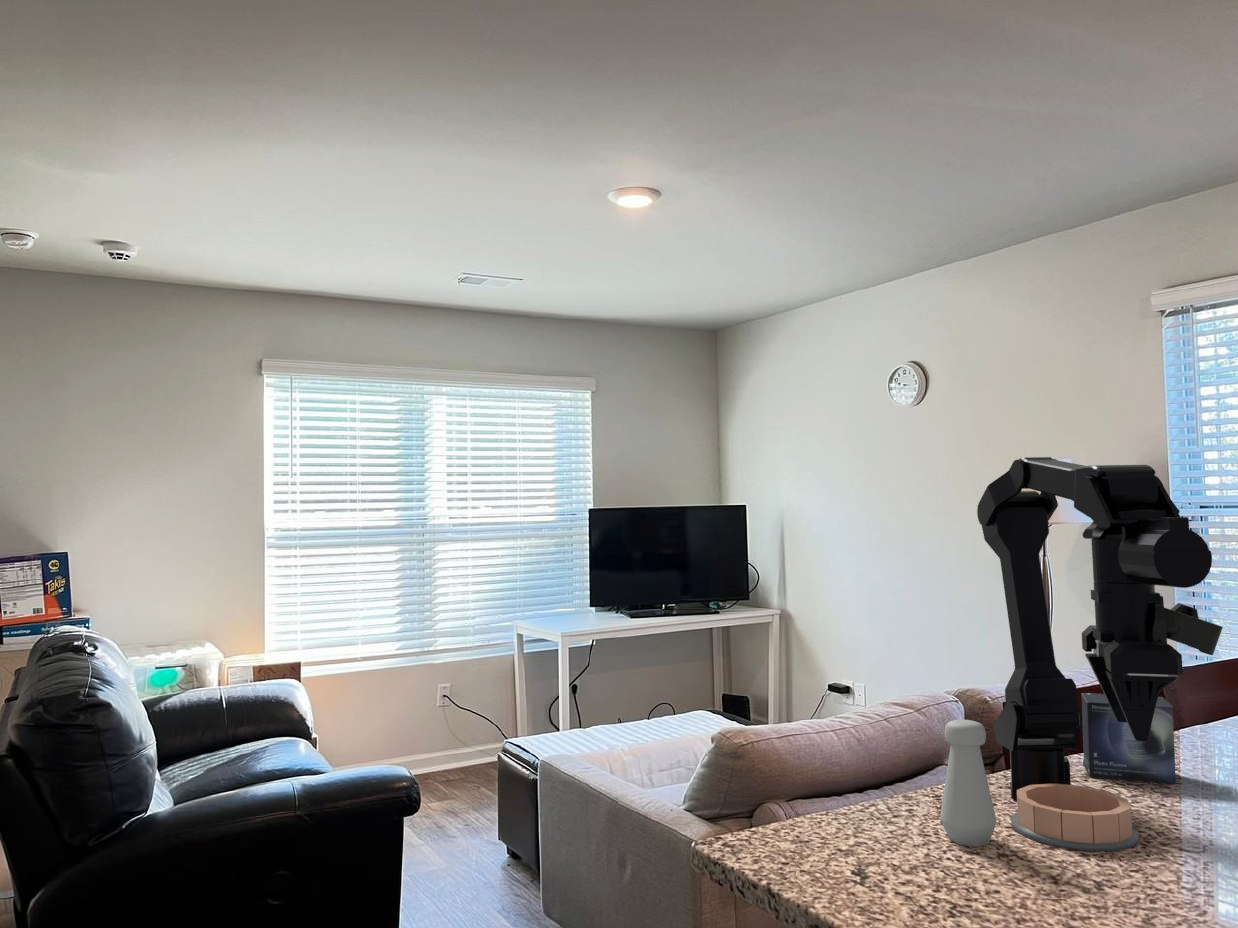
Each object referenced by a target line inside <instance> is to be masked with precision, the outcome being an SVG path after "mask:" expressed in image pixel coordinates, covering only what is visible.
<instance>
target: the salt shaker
mask: <svg viewBox="0 0 1238 928" xmlns="http://www.w3.org/2000/svg"><path fill="white" fill-rule="evenodd" d="M986 736H987V732H986V728H985V726H984V725H983V724H982V723H980V722H978V721H976V720H970V719H954V720H950V721H948V722H947V723H946V724H945V726H944V739H945V740H946V742H947V743H949V744H950V747H949V752H948V753H949V755H948V760H947V761H948V763H947V769H946V773H945V774H946V775H945V782H944V788H943V795H942V802H941V809H940V816H939V817H940V821H941V824H942V825H943V828H944V830H945V833H946V835H947V837H948V839H949V840H950V841H952V842H954V843H956V844H957V845H960V846H967V847H974V848H977V847H982V846H987V845H989V844H990V841H991V839H992V836H993V834H994V830H995V828H996V825H997V816H996V811H995V808H994V803H993V800H992V795H991V790H990V787H989V786H990V785H989V781H988V778H987V774H986V770H985V765H984V761H983V756H982V751H981V746H984V744H985V743H986V739H987V737H986Z"/></svg>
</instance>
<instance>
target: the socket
mask: <svg viewBox="0 0 1238 928" xmlns="http://www.w3.org/2000/svg"><path fill="white" fill-rule="evenodd" d="M1016 804H1017V805H1016V807H1017V808H1016V809H1017V812H1015V813H1014V814H1012V816H1011V818H1010V822H1011V824H1010V825H1011V828H1012V829H1013V830H1014V831H1015V833H1018V834H1019V835H1020V836H1023V837H1025V838H1026V839H1029V840H1032V841H1035V842H1037V843H1040V844H1043V845H1048V846H1052V847H1055V848H1061V849H1068V850H1074V851H1084V852H1085V851H1086V852H1115V851H1116V852H1117V851H1122V850H1127V849H1131V848H1133V847H1135V846H1137V845H1138V844H1139V841H1140V833H1139V831H1138V829H1137V828H1136V827H1134V826H1133V820H1132V819H1133V818H1132V806H1131V804H1130V802H1129V800H1128V799H1127V798H1125V797H1123V796H1120V795H1118V794H1115V793H1113V792H1111V791H1108V790H1103V789H1100V788H1099V789H1098V788H1095V787H1089V786H1084V785H1077V784H1071V785H1066V784H1037V785H1028V786H1026V787H1023V788H1021V789H1018V790H1017V799H1016Z"/></svg>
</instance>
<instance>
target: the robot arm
mask: <svg viewBox="0 0 1238 928" xmlns="http://www.w3.org/2000/svg"><path fill="white" fill-rule="evenodd" d="M1156 473H1157V471H1156V470H1155V469H1154V468H1153V467H1152V466H1150V465H1148V464H1111V465H1110V464H1104V465H1103V464H1102V465H1100V464H1099V465H1098V464H1097V465H1083V464H1078V463H1072V462H1068V461H1061V460H1058V459H1056V458H1052V457H1051V456H1043V457H1042V456H1040V457H1038V456H1034V457H1033V456H1032V457H1031V456H1030V457H1027V456H1026V457H1020V458H1019V459H1015V460H1013V462H1012V463H1011V465H1010V467H1009V469H1008V471H1006V472H1005V473H1003V474H1001V475H1000V476H999V477H998V478H996V479H995V480H994V481H992V482H991V483H989V484H988V485H987V487H986V489H984V492H983V494H982V495H981V497H980V500H979V502H978V504H977V508H976V514H977V515H976V517H977V520H978V523H979V525H980V526H981V530H982V534H983V539H984V541H985V542H986V543H987V545H988V546H989V548H991V550H992V551H993V552H994V553H995V554H996V556H997V557H998V558H999V561H1000V567H1001V574H1002V576H1001V577H1002V582H1003V589H1004V595H1005V604H1006V612H1007V617H1008V625H1009V632H1010V639H1011V641H1010V642H1011V648H1012V655H1013V662H1014V669H1013V672H1012V674H1011V677H1010V678H1009V680H1008V683H1007V684H1006V686H1005V690H1004V695H1005V696H1004V699H1005V704H1004V706H1003V707H1002V710H1001V711H1000V714H999V716H998V717H997V720H996V722H995V723H994V725H993V730H994V734H995V740H996V743H997V744H998V745H1000V746H1002V747H1004V748H1005V749H1007V750H1008V751H1009V758H1010V760H1009V761H1010V783H1009V787H1010V788H1009V789H1010V798H1011V799H1013V800H1017V790H1018V789H1021V788H1023V787H1026V786H1028V785H1037V784H1066V785H1072V784H1071V783H1072V782H1071V765H1070V764H1071V763H1070V760H1069V758H1067V757H1065V750H1075V751H1076V750H1078V747H1079V741H1080V736H1081V730H1082V729H1081V728H1082V724H1083V721H1082V709H1081V707H1080V705H1079V700H1078V694H1077V693H1078V692H1077V685H1076V683H1075V681H1074V679H1072V678H1067V677H1065V675H1064V674H1063V672H1062V671H1061V670H1060V669H1059V668H1058V666H1057V663H1056V656H1055V650H1054V643H1053V637H1052V631H1051V623H1050V617H1049V612H1048V605H1047V597H1046V592H1045V591H1046V590H1045V584H1044V578H1043V571H1042V564H1041V558H1040V553H1041V551H1042V548H1043V546H1044V545H1045V543H1046V540H1047V539H1048V536H1049V534H1050V524H1049V521H1050V520H1051V518H1052V516H1053V515H1054V513H1055V512H1056V510H1057V508H1058V507H1059V502H1058V500H1057V497H1058V498H1059V497H1060V498H1062V499H1063V498H1064V499H1067V500H1071V501H1072V502H1073V508H1074V509H1075V510H1077V511H1078V512H1080V513H1082V514H1083V515H1085V516H1086V517H1088V518H1090V519H1091V520H1092V522H1091V524H1090V525H1089V526H1087V527H1086V528H1085V529H1084V531H1083V532H1082V537H1083V539H1087V540H1089V539H1090V540H1091V554H1092V558H1091V559H1092V574H1093V575H1092V576H1093V577H1092V578H1093V589H1090V599H1091V600H1092V601H1094V613H1095V614H1094V615H1095V616H1094V617H1095V618H1094V619H1095V625H1093V624H1090V625H1089V626H1087V627H1086V628H1085V629H1084V630H1083V631H1081V646H1082V647H1081V648H1082V650H1083V651H1084V652H1085V654H1084V655H1085V657H1086V659H1087V661H1088V663H1089V665H1090V667H1091V669H1092V672H1093V674H1094V675H1095V678H1096V680H1097V682H1098V684H1099V686H1100V688H1101V690H1102V692H1103V694H1105V696H1106V699H1107V701H1108V703H1109V705H1110V707H1111V709H1112V711H1113V713H1114V716H1115V718H1116V720H1117V721H1118V722H1127V723H1128V725H1129V727H1130V730H1131V732H1132V734H1133V736H1134V738H1135V740H1137V741H1147V740H1148V737H1149V733H1150V728H1151V724H1152V720H1153V716H1154V711H1155V707H1156V703H1157V699H1158V697H1160V696H1159V695H1160V692H1161V691H1162V690H1163V689H1165V688H1166V687H1168V686H1169V685H1170V684H1171V683H1174V682H1176V681H1177V680H1178V679H1179V676H1180V675H1181V676H1182V675H1183V674H1184V672H1183V669H1184V668H1183V656H1182V653H1180V652H1179V651H1178V650H1177V649H1175V648H1174V647H1173V645H1171V644H1169V643H1168V640H1171V641H1173V642H1177V643H1180V644H1183V645H1185V646H1187V647H1190V648H1192V649H1196V650H1198V652H1200V653H1203V654H1206V655H1209V656H1214V654H1215V650H1216V648H1217V645H1218V642H1219V639H1220V636H1221V634H1222V631H1223V628H1224V627H1223V626H1222V625H1219V624H1215V623H1213V622H1209V621H1208V620H1204V619H1201V618H1199V612H1198V609H1197V608H1195V607H1192V606H1189V605H1186V604H1183V603H1179V602H1177V604H1175V605H1174V606H1173V607H1171V608H1167V607H1165V606H1164V605H1165V604H1164V603H1165V602H1164V596H1163V595H1161V593H1159V592H1156V587H1155V586H1161V587H1162V586H1163V587H1169V588H1170V587H1171V588H1172V587H1174V588H1181V589H1182V588H1183V589H1186V588H1191V587H1192V588H1193V587H1195V586H1197V585H1198V584H1200V583H1202V582H1203V581H1204V580H1205V579H1206V578H1207V576H1208V574H1209V573H1210V570H1211V567H1212V564H1213V563H1212V562H1213V555H1212V551H1211V550H1210V549H1209V546H1208V544H1207V542H1206V540H1204V538H1203V537H1202V536H1201V535H1200V534H1198V532H1196V531H1193V530H1192V529H1190V522H1189V521H1190V519H1189V517H1188V516H1182V517H1181V516H1180V509H1179V508H1178V507H1177V505H1176V504H1175V503H1174V502H1173V501H1172V498H1171V497H1170V495H1169V493H1168V491H1167V490H1166V488H1165V485H1164V484H1163V482H1162V480H1161V479H1160V478H1159V476H1157V475H1156ZM1023 489H1025V490H1023ZM1027 489H1028V490H1027ZM1039 492H1040V493H1039ZM1092 652H1093V653H1092Z"/></svg>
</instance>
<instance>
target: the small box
mask: <svg viewBox="0 0 1238 928" xmlns="http://www.w3.org/2000/svg"><path fill="white" fill-rule="evenodd" d="M1080 695H1081V715H1082V741H1083V742H1082V744H1083V745H1082V746H1083V761H1082V766H1083V767H1084V768H1085V770H1086V773H1087V775H1088V776H1089V777H1090V778H1098V779H1099V778H1100V779H1110V780H1111V779H1112V780H1121V781H1122V780H1123V781H1124V780H1125V781H1135V782H1145V783H1146V782H1148V783H1158V784H1169V785H1170V784H1171V785H1176V784H1177V779H1176V778H1177V777H1176V757H1175V752H1176V751H1175V731H1174V730H1175V729H1174V707H1173V705H1172V704H1171V703H1170V702H1169V701H1168V700H1167V699H1165V697H1163V696H1158V699H1157V703H1156V707H1155V711H1154V716H1153V720H1152V724H1151V728H1150V733H1149V737H1148V740H1147V741H1137V740H1135V738H1134V736H1133V734H1132V732H1131V730H1130V727H1129V725H1128V723H1127V722H1118V721H1117V720H1116V718H1115V716H1114V713H1113V711H1112V709H1111V707H1110V705H1109V703H1108V701H1107V699H1106V696H1105V694H1104V693H1094V692H1093V693H1092V692H1081V694H1080Z"/></svg>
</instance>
